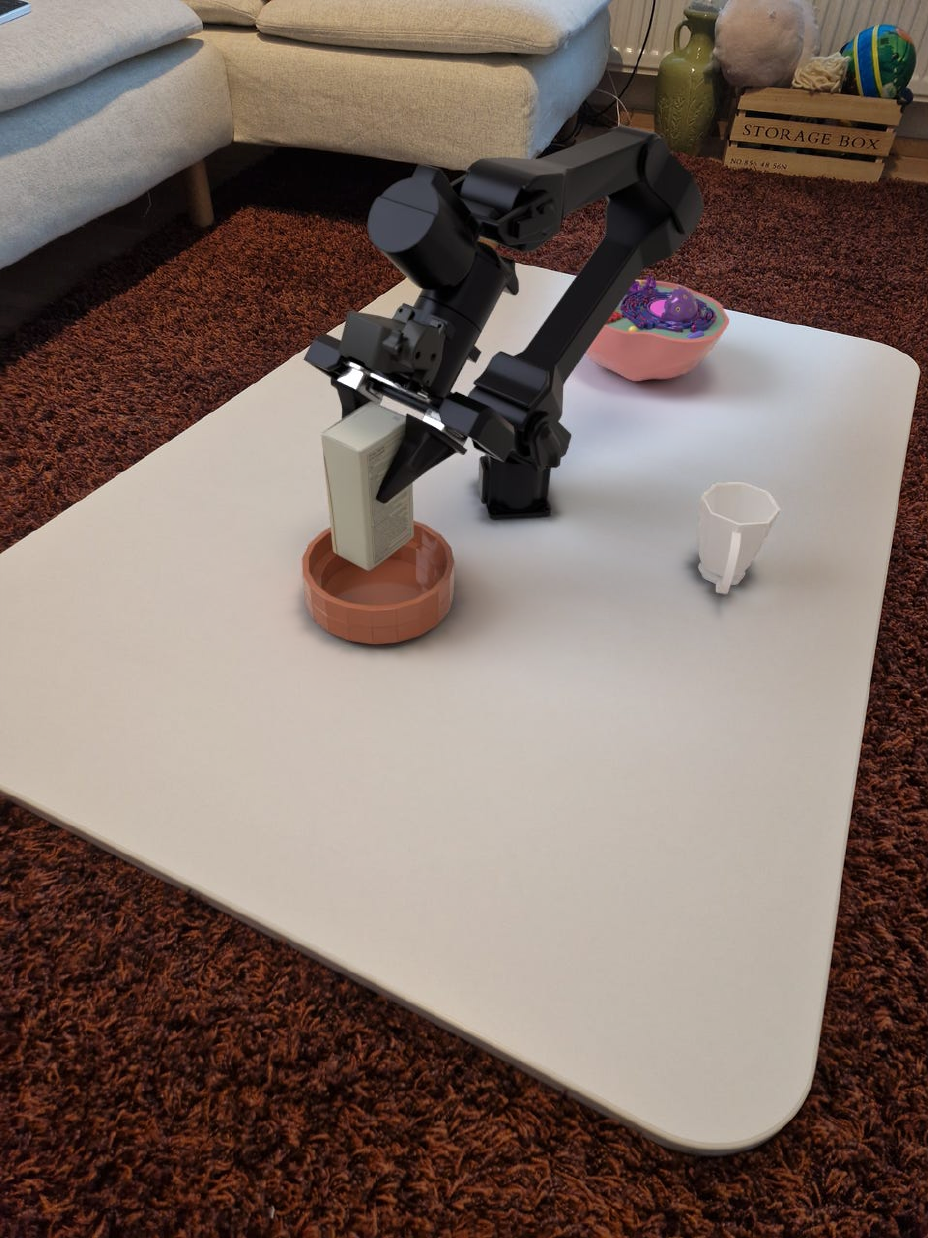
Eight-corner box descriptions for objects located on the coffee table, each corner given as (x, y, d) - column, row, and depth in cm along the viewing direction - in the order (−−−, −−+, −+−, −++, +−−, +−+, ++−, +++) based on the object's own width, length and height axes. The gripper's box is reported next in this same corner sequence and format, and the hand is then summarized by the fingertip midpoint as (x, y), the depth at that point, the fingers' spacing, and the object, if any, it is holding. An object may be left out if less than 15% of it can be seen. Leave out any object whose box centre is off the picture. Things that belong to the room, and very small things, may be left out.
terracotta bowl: (443, 549, 89) (443, 511, 86) (461, 643, 79) (463, 604, 76) (305, 558, 87) (301, 519, 84) (307, 654, 78) (302, 615, 75)
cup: (759, 556, 89) (781, 487, 84) (756, 622, 82) (780, 552, 77) (687, 543, 91) (703, 474, 85) (678, 607, 83) (695, 537, 78)
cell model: (602, 324, 127) (613, 241, 119) (737, 367, 118) (758, 281, 111) (537, 370, 117) (544, 282, 109) (679, 420, 108) (698, 329, 101)
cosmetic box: (378, 519, 82) (371, 398, 74) (416, 538, 81) (414, 416, 72) (330, 554, 79) (317, 430, 70) (369, 574, 77) (360, 450, 69)
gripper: (309, 233, 70) (218, 415, 72) (498, 304, 62) (391, 510, 63) (384, 300, 80) (303, 459, 81) (557, 369, 72) (463, 546, 73)
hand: (359, 490), depth 74 cm, fingers closed on cosmetic box, 4 cm apart
